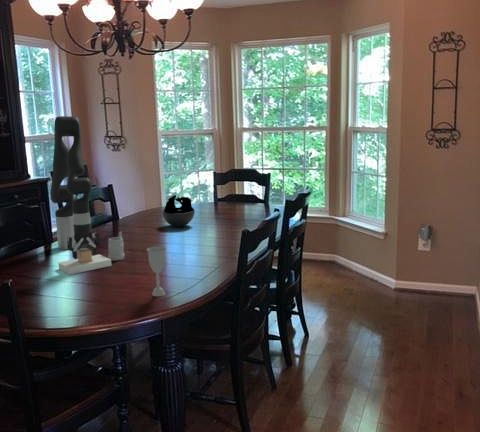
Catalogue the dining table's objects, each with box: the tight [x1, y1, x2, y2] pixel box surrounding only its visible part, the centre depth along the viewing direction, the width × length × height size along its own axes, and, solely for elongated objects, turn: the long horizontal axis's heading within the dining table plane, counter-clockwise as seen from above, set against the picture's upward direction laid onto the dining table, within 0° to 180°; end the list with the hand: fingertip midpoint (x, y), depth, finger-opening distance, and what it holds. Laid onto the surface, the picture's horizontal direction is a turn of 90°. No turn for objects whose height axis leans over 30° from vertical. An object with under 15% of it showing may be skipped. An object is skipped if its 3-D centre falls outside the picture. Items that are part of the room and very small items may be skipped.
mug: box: [107, 231, 126, 262], centre depth 249 cm, size 8×12×12 cm, turn 169°
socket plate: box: [57, 254, 112, 275], centre depth 235 cm, size 12×20×3 cm, turn 130°
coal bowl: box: [161, 194, 196, 228], centre depth 316 cm, size 20×20×19 cm
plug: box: [76, 247, 93, 264], centre depth 234 cm, size 5×5×9 cm
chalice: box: [146, 246, 167, 297], centre depth 196 cm, size 7×7×18 cm
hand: (84, 257), depth 234 cm, fingers open, 8 cm apart
